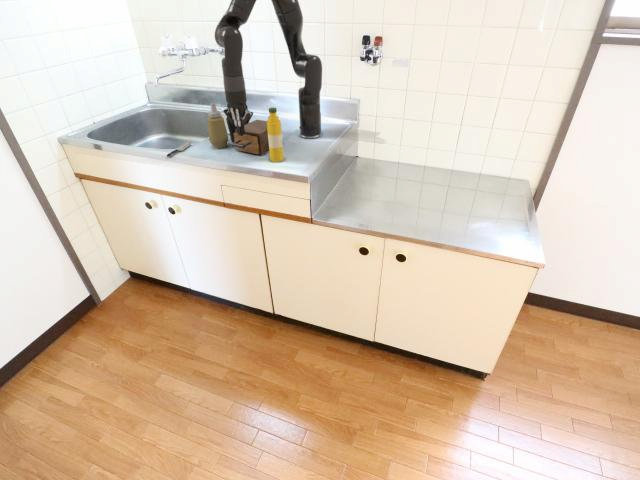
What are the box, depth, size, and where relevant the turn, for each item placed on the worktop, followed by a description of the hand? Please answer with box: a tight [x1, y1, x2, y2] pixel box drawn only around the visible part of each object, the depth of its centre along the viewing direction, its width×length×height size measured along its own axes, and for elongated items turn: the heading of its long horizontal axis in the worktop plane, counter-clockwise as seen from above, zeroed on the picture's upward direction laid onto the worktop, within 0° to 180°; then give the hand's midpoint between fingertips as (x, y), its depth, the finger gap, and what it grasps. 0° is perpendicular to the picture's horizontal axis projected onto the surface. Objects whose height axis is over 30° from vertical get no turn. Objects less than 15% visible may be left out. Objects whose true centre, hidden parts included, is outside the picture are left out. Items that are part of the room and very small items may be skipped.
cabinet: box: [235, 119, 270, 156], centre depth 156 cm, size 15×12×9 cm
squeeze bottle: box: [206, 102, 229, 149], centre depth 154 cm, size 8×8×18 cm
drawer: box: [230, 133, 259, 155], centre depth 152 cm, size 19×11×7 cm, turn 151°
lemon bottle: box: [266, 107, 284, 163], centre depth 141 cm, size 5×5×20 cm
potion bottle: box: [226, 102, 236, 143], centre depth 161 cm, size 8×8×18 cm
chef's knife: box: [166, 140, 192, 158], centre depth 157 cm, size 19×1×3 cm
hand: (241, 135), depth 145 cm, fingers closed
